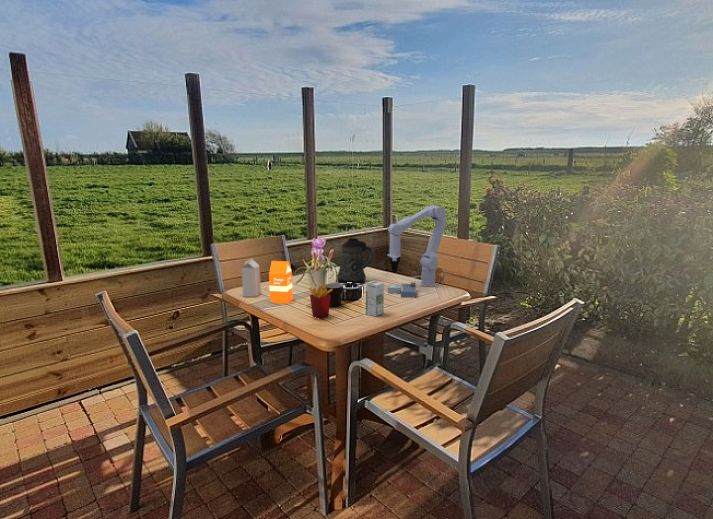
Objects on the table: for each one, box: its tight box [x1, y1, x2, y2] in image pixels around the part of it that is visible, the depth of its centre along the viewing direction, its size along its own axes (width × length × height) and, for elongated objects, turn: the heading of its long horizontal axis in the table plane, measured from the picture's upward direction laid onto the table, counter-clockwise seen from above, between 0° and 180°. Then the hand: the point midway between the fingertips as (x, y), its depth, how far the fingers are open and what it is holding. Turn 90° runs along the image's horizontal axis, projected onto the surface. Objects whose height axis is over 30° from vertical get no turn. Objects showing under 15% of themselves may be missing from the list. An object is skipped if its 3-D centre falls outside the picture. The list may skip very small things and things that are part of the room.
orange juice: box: [268, 260, 294, 304], centre depth 206 cm, size 8×9×20 cm
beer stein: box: [336, 237, 374, 285], centre depth 241 cm, size 16×19×25 cm
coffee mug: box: [325, 282, 344, 309], centre depth 200 cm, size 12×9×10 cm
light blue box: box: [387, 284, 401, 294], centre depth 221 cm, size 6×6×3 cm
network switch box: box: [400, 282, 417, 298], centre depth 218 cm, size 14×8×4 cm, turn 173°
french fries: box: [309, 283, 333, 320], centre depth 183 cm, size 9×8×15 cm
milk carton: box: [240, 257, 262, 298], centre depth 216 cm, size 7×7×19 cm
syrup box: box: [365, 280, 385, 317], centre depth 186 cm, size 6×6×14 cm
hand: (394, 271), depth 226 cm, fingers open, 3 cm apart
